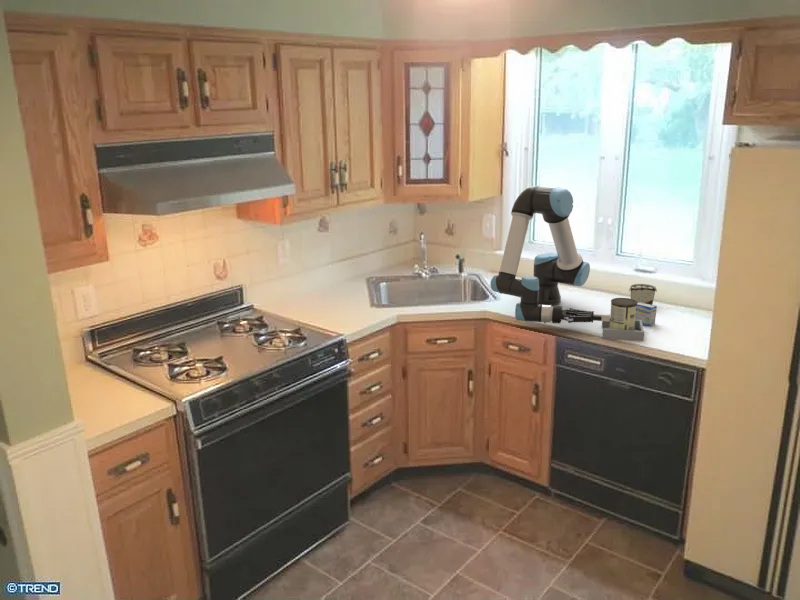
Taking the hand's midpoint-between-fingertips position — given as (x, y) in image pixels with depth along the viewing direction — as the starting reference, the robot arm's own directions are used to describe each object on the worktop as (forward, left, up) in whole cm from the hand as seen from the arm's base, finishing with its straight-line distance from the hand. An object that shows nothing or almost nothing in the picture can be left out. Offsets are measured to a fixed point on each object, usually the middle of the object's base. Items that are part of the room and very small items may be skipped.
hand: (609, 318), depth 285 cm
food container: (+4, +44, -7) cm, 45 cm away
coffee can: (+5, +2, -7) cm, 8 cm away
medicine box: (+11, +19, -7) cm, 23 cm away
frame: (+5, +1, -6) cm, 8 cm away
